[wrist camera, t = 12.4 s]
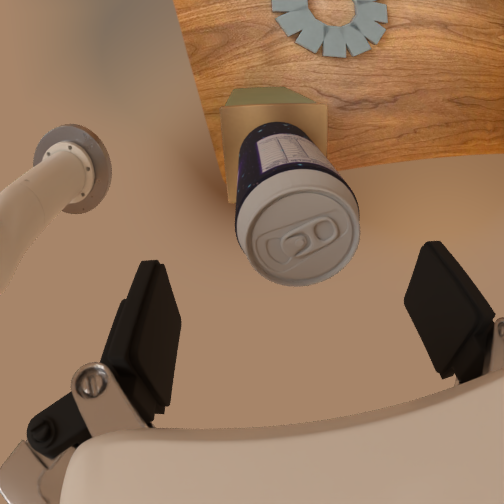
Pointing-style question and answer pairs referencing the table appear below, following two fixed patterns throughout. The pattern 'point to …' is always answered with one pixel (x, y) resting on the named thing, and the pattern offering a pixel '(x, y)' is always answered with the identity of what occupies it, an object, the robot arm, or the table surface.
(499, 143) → the table surface
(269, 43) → the table surface
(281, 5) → the trivet
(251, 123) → the stand
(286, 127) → the beverage can
